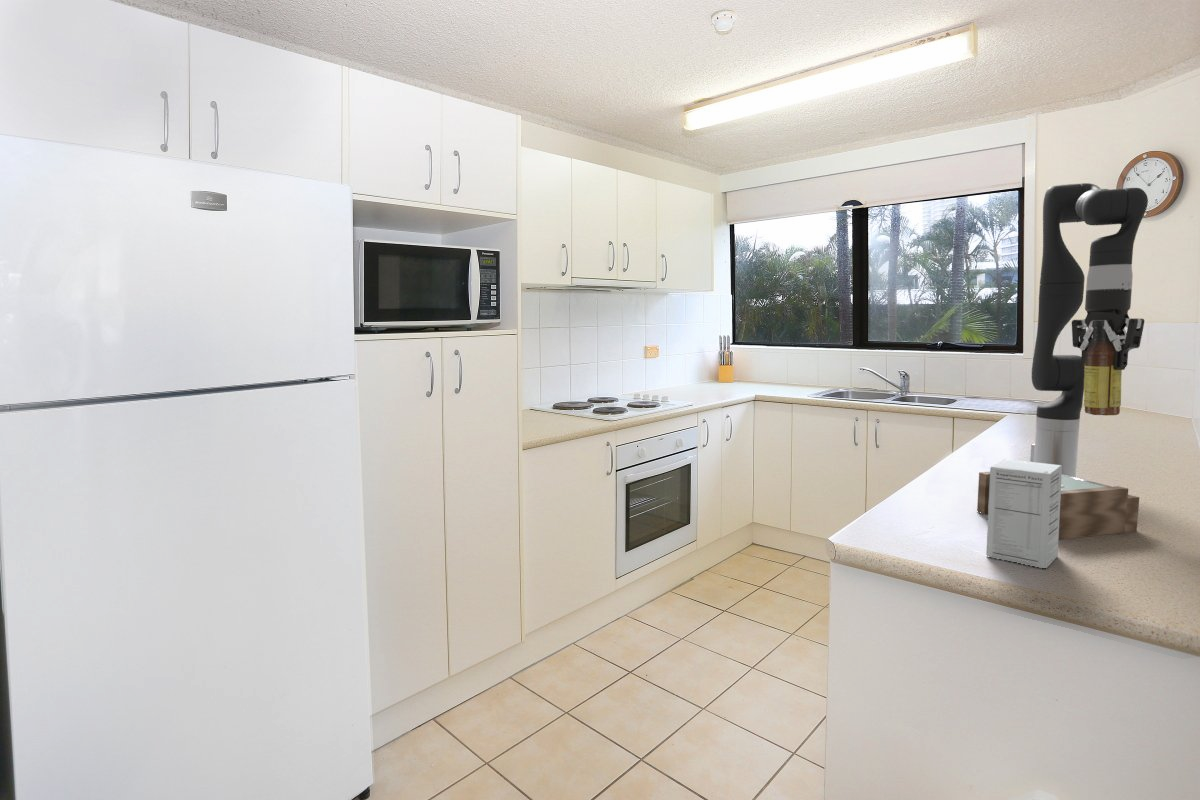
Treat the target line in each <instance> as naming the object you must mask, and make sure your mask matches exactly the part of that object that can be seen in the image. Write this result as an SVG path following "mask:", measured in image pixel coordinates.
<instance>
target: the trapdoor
mask: <svg viewBox="0 0 1200 800" xmlns="http://www.w3.org/2000/svg"><path fill="white" fill-rule="evenodd" d="M1101 487H1113V486H1111V485H1108V484H1103V483H1099V482H1097V481H1096V482H1095V481H1091V480H1087V479H1084V478H1078V477H1076V478H1075V477H1071V476H1067V475H1063V474H1062V479H1061V491H1063V490H1076V489H1088V488H1101Z"/></svg>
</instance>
